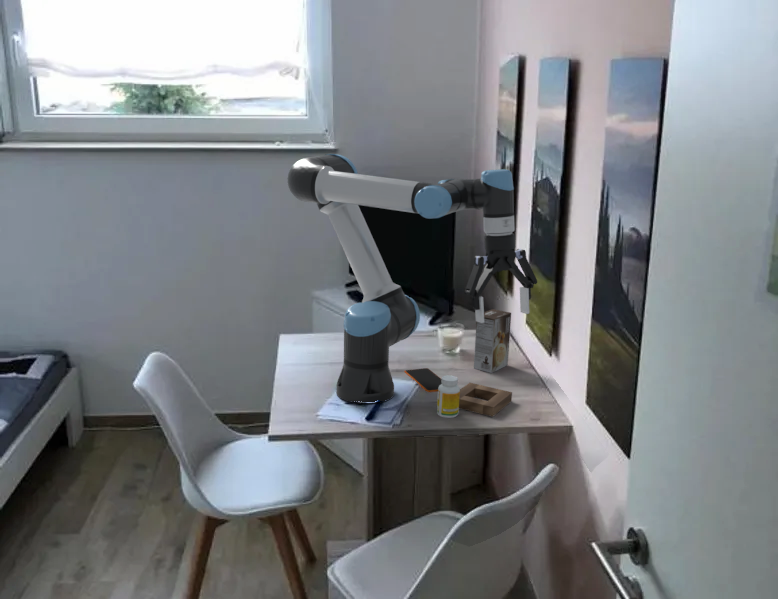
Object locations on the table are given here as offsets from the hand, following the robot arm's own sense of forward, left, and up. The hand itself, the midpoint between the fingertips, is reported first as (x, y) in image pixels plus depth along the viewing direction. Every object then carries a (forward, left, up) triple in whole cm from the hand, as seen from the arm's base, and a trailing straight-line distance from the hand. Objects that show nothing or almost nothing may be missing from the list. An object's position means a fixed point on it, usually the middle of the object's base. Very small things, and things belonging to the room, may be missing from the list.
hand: (502, 317), depth 212 cm
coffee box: (-12, +24, -23) cm, 35 cm away
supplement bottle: (-7, -14, -23) cm, 28 cm away
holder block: (-3, -3, -23) cm, 23 cm away
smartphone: (-22, +4, -23) cm, 32 cm away
